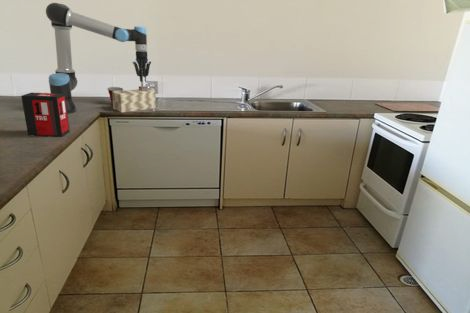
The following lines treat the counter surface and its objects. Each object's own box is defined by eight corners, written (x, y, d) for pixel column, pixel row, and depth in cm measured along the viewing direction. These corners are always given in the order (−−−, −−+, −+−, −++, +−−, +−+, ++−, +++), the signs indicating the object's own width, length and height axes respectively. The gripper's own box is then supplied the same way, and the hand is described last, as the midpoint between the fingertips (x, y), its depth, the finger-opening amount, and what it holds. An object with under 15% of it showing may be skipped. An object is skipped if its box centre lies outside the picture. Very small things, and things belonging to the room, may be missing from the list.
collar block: (121, 112, 221) (120, 94, 217) (113, 109, 229) (111, 91, 225) (155, 108, 238) (155, 91, 234) (147, 105, 246) (146, 88, 242)
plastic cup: (114, 107, 235) (113, 89, 231) (105, 104, 241) (104, 87, 237) (127, 105, 243) (126, 88, 239) (118, 102, 249) (117, 86, 245)
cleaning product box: (28, 135, 166) (21, 95, 159) (37, 130, 175) (31, 92, 168) (62, 137, 167) (56, 97, 160) (69, 132, 175) (64, 93, 168)
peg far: (142, 100, 233) (141, 87, 230) (139, 99, 236) (138, 86, 233) (148, 99, 236) (147, 86, 233) (144, 98, 239) (144, 86, 236)
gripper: (135, 51, 218) (137, 87, 226) (152, 51, 227) (154, 86, 235) (129, 50, 223) (132, 86, 231) (147, 50, 232) (148, 84, 240)
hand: (143, 86), depth 233 cm, fingers closed
